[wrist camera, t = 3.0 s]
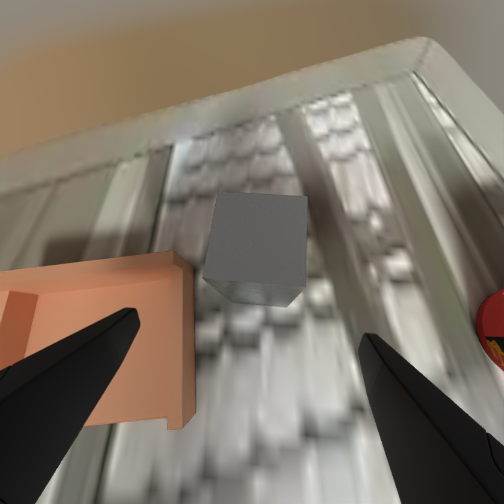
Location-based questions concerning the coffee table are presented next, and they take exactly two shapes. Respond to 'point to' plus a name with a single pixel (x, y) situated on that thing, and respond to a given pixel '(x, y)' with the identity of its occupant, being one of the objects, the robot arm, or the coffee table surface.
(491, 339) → the canned food
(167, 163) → the coffee table surface
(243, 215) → the block
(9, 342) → the coupler dock
